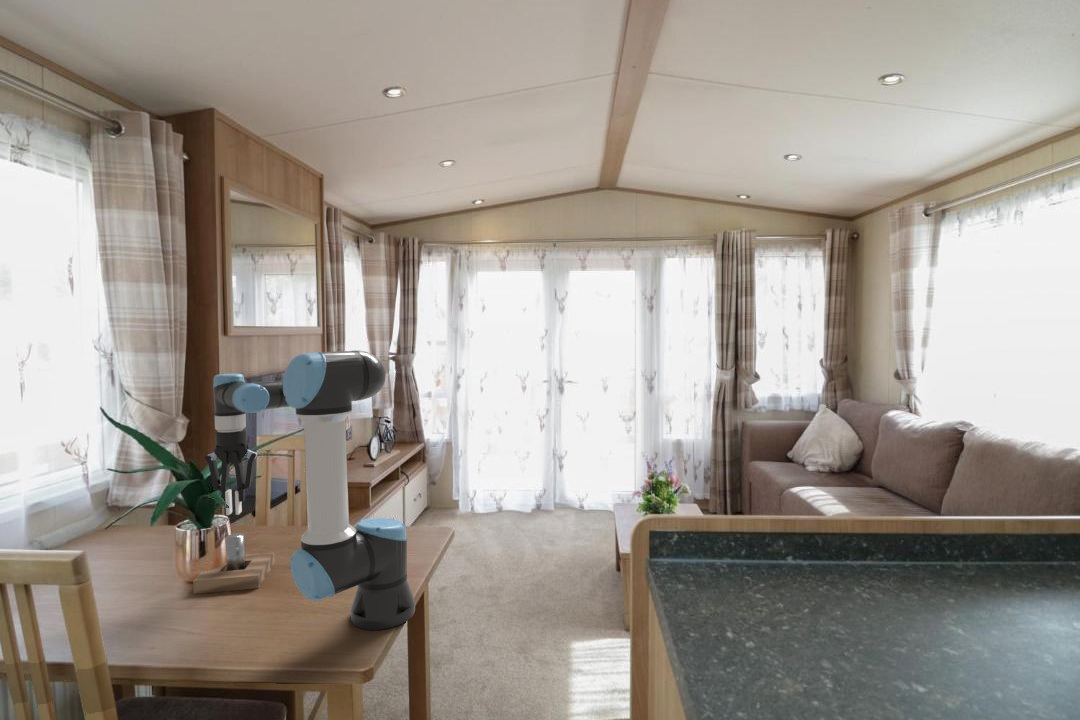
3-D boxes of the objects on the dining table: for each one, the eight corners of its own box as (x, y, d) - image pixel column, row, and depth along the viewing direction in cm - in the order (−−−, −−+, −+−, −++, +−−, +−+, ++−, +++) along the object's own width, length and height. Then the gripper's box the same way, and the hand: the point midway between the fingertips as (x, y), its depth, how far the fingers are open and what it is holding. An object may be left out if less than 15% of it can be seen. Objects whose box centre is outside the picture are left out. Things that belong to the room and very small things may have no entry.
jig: (258, 588, 152) (258, 575, 152) (193, 593, 149) (193, 580, 149) (274, 563, 168) (274, 552, 168) (215, 568, 165) (215, 556, 164)
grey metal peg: (242, 580, 157) (240, 538, 156) (225, 582, 156) (223, 539, 155) (247, 574, 161) (245, 532, 160) (230, 575, 160) (229, 533, 159)
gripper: (263, 426, 161) (266, 507, 162) (206, 428, 158) (210, 511, 160) (255, 430, 154) (258, 515, 155) (195, 433, 151) (199, 519, 152)
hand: (234, 513), depth 157 cm, fingers open, 2 cm apart
